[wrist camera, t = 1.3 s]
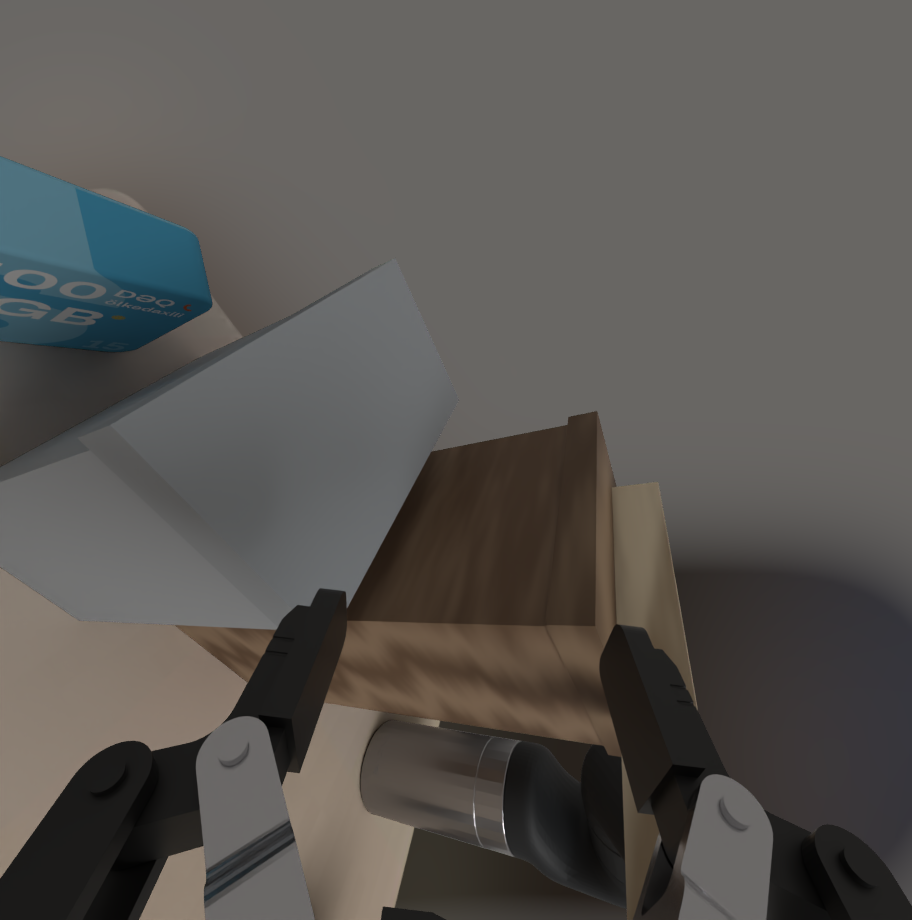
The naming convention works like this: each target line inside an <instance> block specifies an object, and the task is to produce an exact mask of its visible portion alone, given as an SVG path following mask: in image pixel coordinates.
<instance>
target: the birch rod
mask: <svg viewBox="0 0 912 920" xmlns="http://www.w3.org/2000/svg"><path fill="white" fill-rule="evenodd" d="M612 504H613V532H614V560H615V588H616V616H617V624H619V625H627V626H635V627H642V628H644V629H645V630H646V631H647V633H648V635H649V638H650V640H651V642H652V645H653V647H654V648H655V649H662V650H663V651H664V652H665V653H666V654H667V656H668V657H669V658H670V659H671V660H672V661H673V663H674V664H675V665H676V666H677V668H678V670H679V672H680V674H681V676H682V678H683V680H684V683H685V685H686V690H688V691H689V693H690V695H691V697H692V700H693V702H694V703H693V704H694V706H696V708H697V703H696V697H695V691H694V685H693V680H692V675H691V669H690V662H689V657H688V650H687V645H686V639H685V633H684V627H683V621H682V616H681V610H680V605H679V598H678V592H677V586H676V581H675V575H674V569H673V563H672V558H671V552H670V546H669V540H668V534H667V528H666V522H665V517H664V511H663V506H662V500H661V495H660V489H659V484H658V482H654V483H646V484H637V485H628V486H621V487H612ZM697 710H698V709H697ZM621 757H622V755H621ZM622 785H623V814H624V842H625V870H626V898H627V920H633V917H634V914H635V911H636V908H637V905H638V901H639V898H640V894H641V891H642V888H643V884H644V881H645V878H646V874H647V871H648V868H649V864H650V861H651V858H652V854H653V851H654V848H655V844H656V841H657V838H658V835H659V829H658V826H657V823H656V820H655V816H654V815H650V814H642V813H638V812H637V809H636V805H635V802H634V798H633V794H632V791H631V787H630V783H629V780H628V776H627V773H626V769H625V765H624V762H623V758H622Z"/></svg>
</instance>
